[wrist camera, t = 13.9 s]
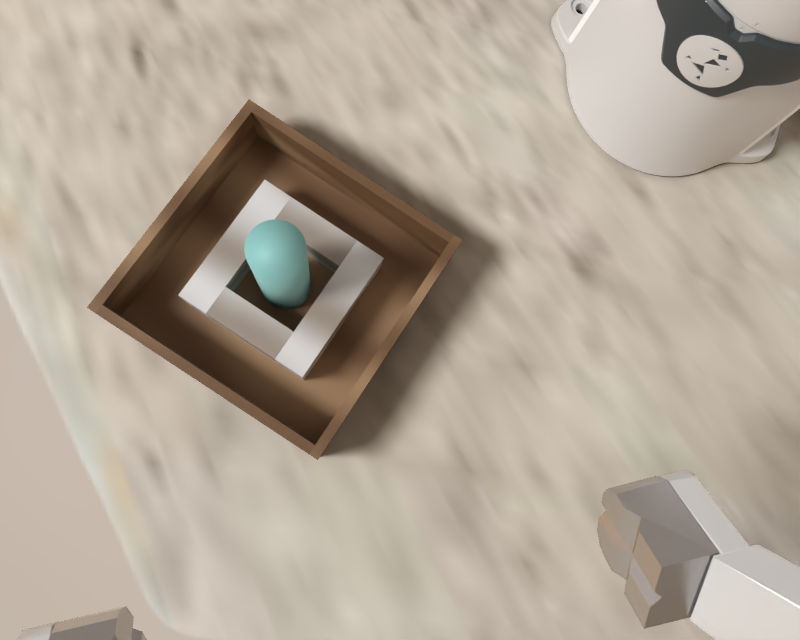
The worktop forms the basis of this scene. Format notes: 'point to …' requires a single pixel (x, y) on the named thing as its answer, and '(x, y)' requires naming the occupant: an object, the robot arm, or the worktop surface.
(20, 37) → the worktop surface
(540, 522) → the worktop surface
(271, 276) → the peg
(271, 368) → the box
